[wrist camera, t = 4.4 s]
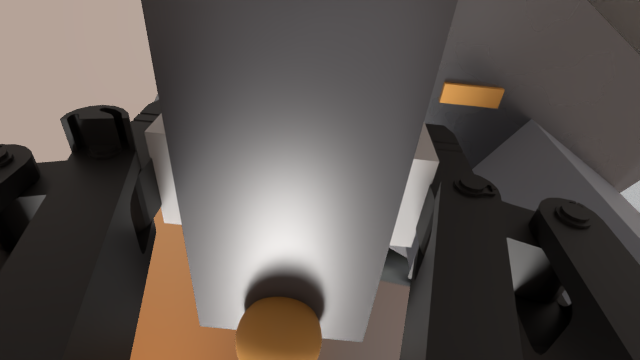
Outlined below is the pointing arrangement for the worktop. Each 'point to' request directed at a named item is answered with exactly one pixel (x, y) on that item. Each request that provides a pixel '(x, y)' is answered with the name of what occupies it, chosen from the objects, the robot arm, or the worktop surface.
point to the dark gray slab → (292, 154)
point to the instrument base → (543, 106)
